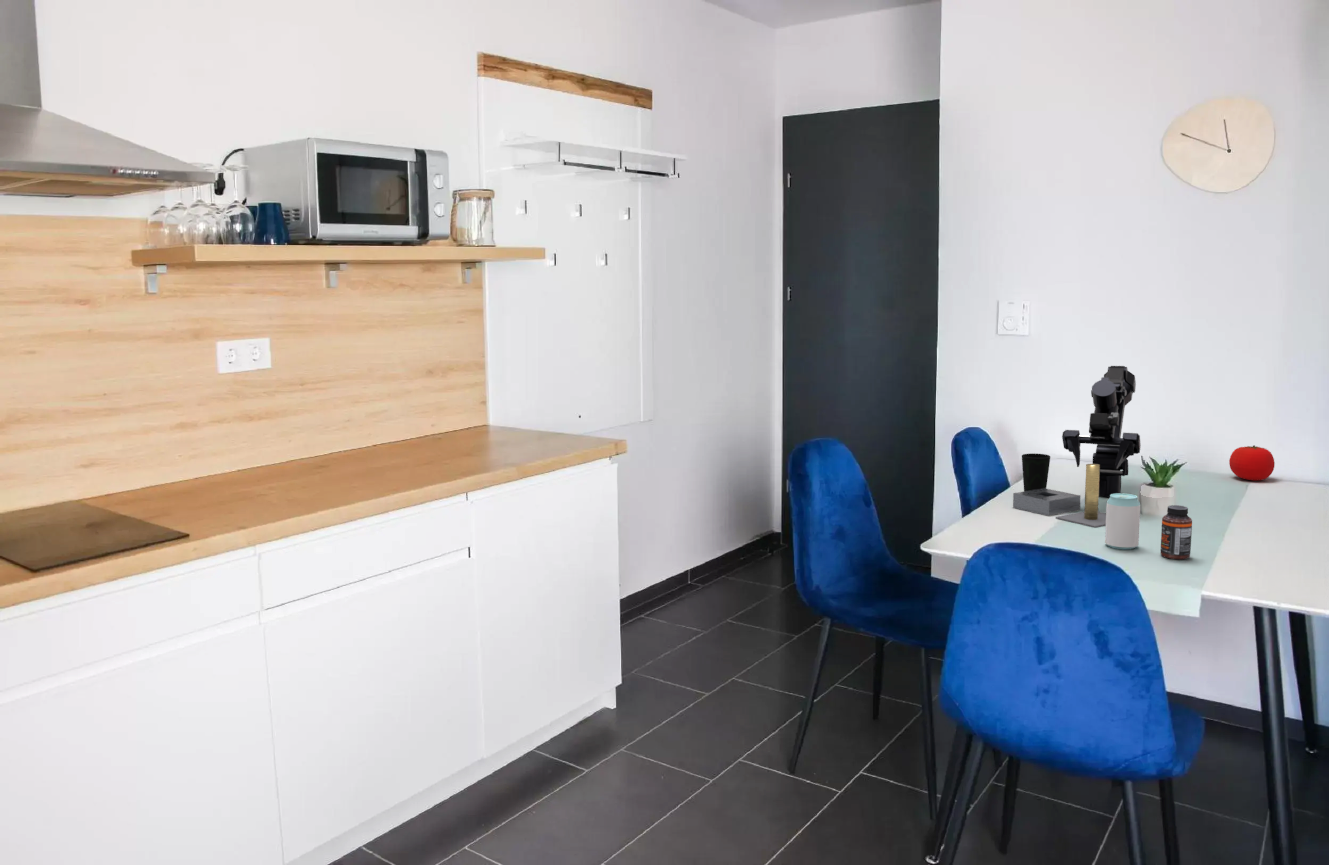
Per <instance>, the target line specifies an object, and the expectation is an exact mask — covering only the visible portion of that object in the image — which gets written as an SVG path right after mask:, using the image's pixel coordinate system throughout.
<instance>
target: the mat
mask: <svg viewBox="0 0 1329 865" xmlns="http://www.w3.org/2000/svg"><path fill="white" fill-rule="evenodd" d="M1055 519H1056V520H1061V521H1065V522H1068V523H1072V524H1073V523H1074V524H1078V525H1083V526H1087V527H1091V528H1094V529H1095V528H1101V527H1106V512H1102V511H1098V519H1097V520H1088V519H1085V518H1084V511H1081V512H1076V513H1074V512H1073V513H1070V514H1064V515H1059V516H1055Z"/></svg>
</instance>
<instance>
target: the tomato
mask: <svg viewBox="0 0 1329 865" xmlns="http://www.w3.org/2000/svg"><path fill="white" fill-rule="evenodd" d="M1228 461H1229V462H1228V464H1229V468H1230V470H1231V472H1232V474H1234V475H1235V476H1237V477H1238V478H1241V479H1243V480H1246V481H1247V480H1248V481H1253V482H1256V481H1264V480H1266V479H1268V478H1269V477H1270V476H1271V475H1272V473H1273V472H1274V469H1275V464H1276V463H1275V458H1274V455H1273V454H1272V451H1270V450H1269V449H1267V448H1265V447H1260V446H1256V445H1251V446H1249V445H1247V446H1240V447H1237V448H1236V449H1234V450H1233V451H1232V452H1231V454H1230V458H1229V460H1228Z"/></svg>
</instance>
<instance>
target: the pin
mask: <svg viewBox="0 0 1329 865" xmlns="http://www.w3.org/2000/svg"><path fill="white" fill-rule="evenodd" d="M1085 465H1086V466H1085V484H1084V485H1085V487H1084V511H1083V512H1084V518H1085V519H1088V520H1097V519H1098V512H1099V498H1100V497H1099V474H1100V465H1099V464H1093V463H1086V464H1085Z"/></svg>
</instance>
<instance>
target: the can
mask: <svg viewBox="0 0 1329 865" xmlns="http://www.w3.org/2000/svg"><path fill="white" fill-rule="evenodd" d="M1105 513H1106V526H1105V532H1104V533H1105V536H1104V537H1105V540H1104V543H1105V545H1107V546H1108V547H1109V548H1112V549H1116V550H1134V549H1135V548H1137V547H1138V546H1139V545H1140V543H1139V541H1140V540H1139V539H1140V522H1141V503H1140V500H1138V496H1137V495H1136V494H1131V493H1125V494H1124V493H1123V492H1121V493H1116V494H1111V495H1110V498H1109V497H1108V499H1107V501H1106V510H1105Z"/></svg>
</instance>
